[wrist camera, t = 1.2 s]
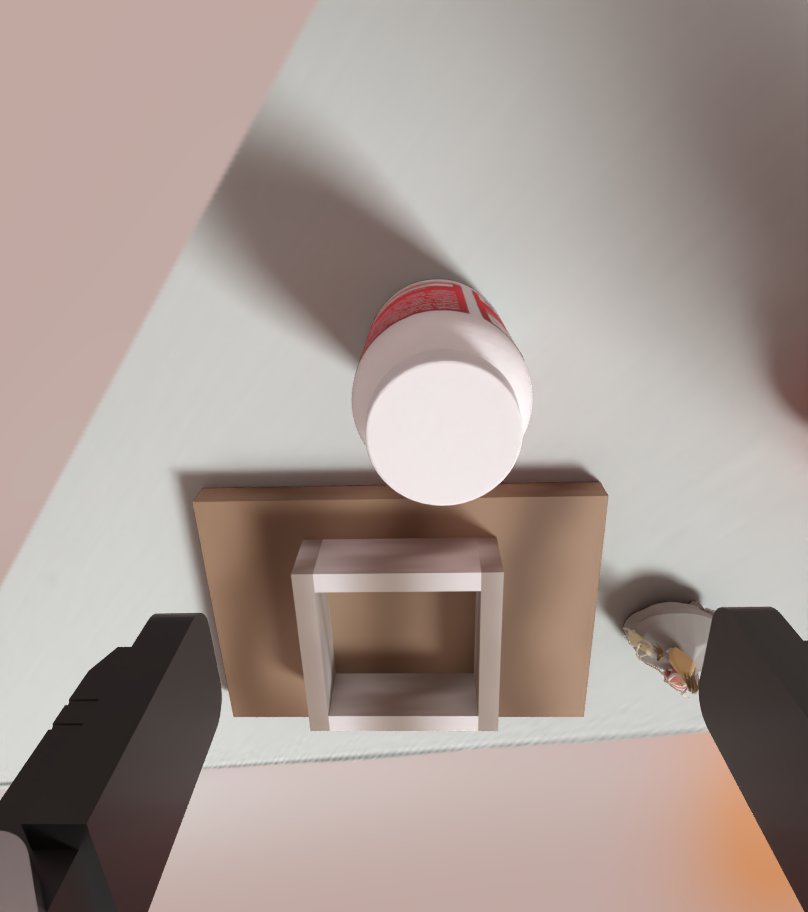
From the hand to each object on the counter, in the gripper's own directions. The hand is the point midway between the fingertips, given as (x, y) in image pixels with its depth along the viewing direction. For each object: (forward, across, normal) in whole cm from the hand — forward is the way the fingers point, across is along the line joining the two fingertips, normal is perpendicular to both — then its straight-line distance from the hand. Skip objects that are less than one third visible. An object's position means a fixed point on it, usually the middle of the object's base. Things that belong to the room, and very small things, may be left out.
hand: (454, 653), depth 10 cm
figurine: (+20, -12, +16) cm, 29 cm away
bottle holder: (+20, +2, +14) cm, 24 cm away
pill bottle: (+20, 0, 0) cm, 20 cm away
